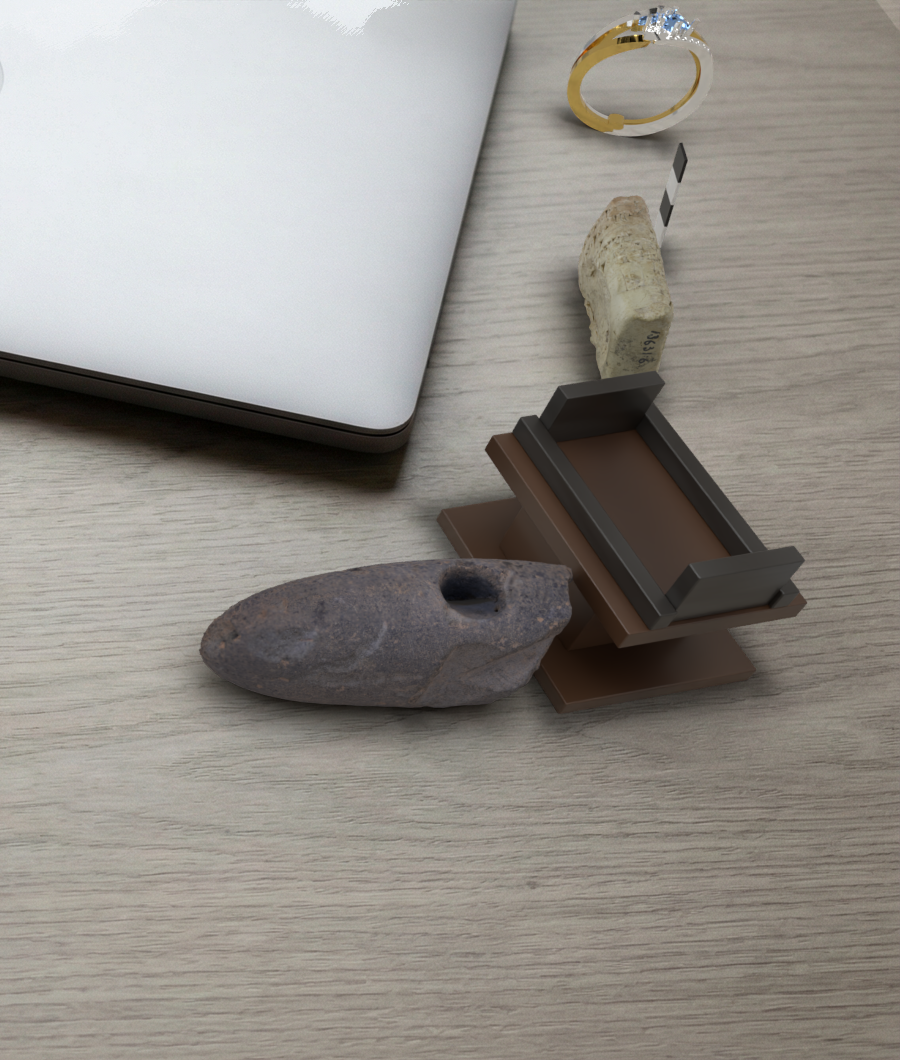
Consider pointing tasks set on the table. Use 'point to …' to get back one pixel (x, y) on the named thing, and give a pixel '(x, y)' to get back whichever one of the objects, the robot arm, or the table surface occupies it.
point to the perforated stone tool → (395, 633)
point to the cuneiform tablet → (629, 281)
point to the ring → (657, 29)
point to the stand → (627, 547)
